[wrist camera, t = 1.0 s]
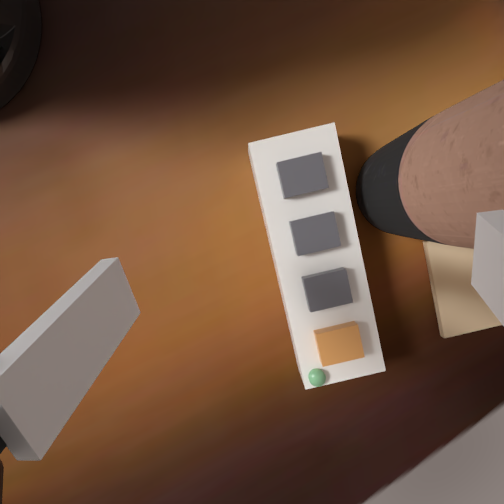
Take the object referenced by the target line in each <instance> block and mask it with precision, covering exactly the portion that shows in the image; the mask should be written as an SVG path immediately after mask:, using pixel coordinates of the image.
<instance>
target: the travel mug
mask: <svg viewBox="0 0 504 504" xmlns="http://www.w3.org/2000/svg"><path fill="white" fill-rule="evenodd" d="M356 197H357V202H358V205H359V208H360V210H361V212H362V214H363V215H364V217H365V218H366V219H367V220H368V221H369V222H370V223H371V224H372V225H373V226H375V227H376V228H378V229H380V230H382V231H384V232H388V233H391V234H395V235H400V236H405V237H410V238H415V239H420V240H425V241H430V242H435V243H440V244H444V245H450V246H456V247H463V248H471V249H474V241H475V229H476V216H477V213H479V212H487V211H495V210H504V80H502V81H500V82H498V83H496V84H494V85H492V86H490V87H488V88H486V89H484V90H483V91H481V92H479V93H477V94H475V95H473V96H471V97H469V98H467V99H465V100H463V101H461V102H459V103H457V104H455V105H453V106H452V107H450V108H448V109H446V110H444V111H442V112H440V113H438V114H436V115H435V116H433V117H431V118H429V119H428V120H426V121H424V122H423V123H421V124H419V125H418V126H416V127H415V128H413V129H411V130H410V131H408V132H406V133H405V134H403V135H401V136H400V137H398V138H396V139H395V140H393V141H391V142H390V143H388V144H386V145H385V146H383V147H382V148H380V149H379V150H377V151H376V152H375V153H374V154H372V155H371V156H370V157H369V158H368V160H367V161H366V162H365V163H364V165H363V167H362V168H361V171H360V173H359V176H358V179H357V184H356Z"/></svg>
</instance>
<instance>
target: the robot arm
mask: <svg viewBox="0 0 504 504" xmlns="http://www.w3.org/2000/svg"><path fill="white" fill-rule="evenodd" d="M40 40H41V11H40V5H39V0H0V108H1V107H3V106H4V105H5V104H7V103H8V102H9V101H10V100H11V99H12V98H13V97H14V96H15V95H16V94H17V93H18V92H19V90H20V89H21V88H22V86H23V85H24V84H25V82H26V80H27V79H28V77H29V75H30V73H31V71H32V69H33V67H34V64H35V61H36V59H37V55H38V51H39V47H40ZM471 285H472V286H473V287H474V288H475V290H476V291H477V292H478V294H479V295H480V296H481V298H482V299H483V300H484V302H485V303H486V304H487V305H488V307H489V308H490V309H491V311H492V312H493V313H494V315H495V316H496V317H497V318H498V320H499V321H500V322H501V324H502V325H503V326H504V210H495V211H487V212H479V213H477V216H476V229H475V241H474V253H473V266H472V278H471ZM139 314H140V310H139V308H138V305H137V303H136V300H135V298H134V295H133V293H132V290H131V288H130V285H129V283H128V281H127V278H126V276H125V273H124V271H123V268H122V266H121V263H120V261H119V258H118V257H117V258H109V259H101V260H100V261H99V262H98V263H97V264H96V265H95V266H94V267H93V268H92V269H91V270H90V271H88V272H87V273H86V274H85V275H84V276H83V277H82V278H81V279H80V280H79V281H78V282H77V283H76V284H75V285H73V286H72V287H71V288H70V289H69V290H68V291H67V292H66V293H65V294H64V295H63V296H62V297H61V298H60V299H58V300H57V301H56V302H55V303H54V304H53V305H52V306H51V307H50V308H49V309H48V310H47V311H46V312H45V313H43V314H42V315H41V316H40V317H39V318H38V319H37V320H36V321H35V322H34V323H33V324H32V325H31V326H30V327H28V328H27V329H26V330H25V331H24V332H23V333H22V334H21V335H20V336H19V337H18V338H17V339H15V340H14V341H13V342H12V343H11V344H10V345H9V346H8V347H7V348H6V349H5V350H4V351H3V352H2V353H1V354H0V453H1V452H2V451H3V450H4V448H5V447H6V446H7V447H8V449H9V450H10V451H11V453H12V454H13V455H14V457H15V458H16V459H17V460H41V459H42V458H43V456H44V455H45V453H46V452H47V450H48V449H49V447H50V446H51V444H52V443H53V441H54V440H55V439H56V437H57V436H58V434H59V433H60V431H61V430H62V428H63V427H64V425H65V424H66V422H67V421H68V419H69V418H70V416H71V415H72V413H73V412H74V410H75V409H76V407H77V406H78V405H79V403H80V402H81V400H82V399H83V397H84V396H85V394H86V393H87V391H88V390H89V388H90V387H91V385H92V384H93V382H94V381H95V379H96V378H97V376H98V375H99V373H100V372H101V371H102V369H103V368H104V366H105V365H106V363H107V362H108V360H109V359H110V357H111V356H112V354H113V353H114V351H115V350H116V348H117V347H118V345H119V344H120V342H121V341H122V339H123V338H124V337H125V335H126V334H127V332H128V331H129V329H130V328H131V326H132V325H133V323H134V322H135V320H136V319H137V317H138V316H139ZM3 468H4V467H3V464H2V461H1V460H0V504H2V489H3Z"/></svg>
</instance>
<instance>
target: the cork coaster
mask: <svg viewBox="0 0 504 504" xmlns="http://www.w3.org/2000/svg"><path fill="white" fill-rule="evenodd" d="M423 246H424V251H425V256H426V262H427V267H428V272H429V278H430V283H431V288H432V294H433V299H434V304H435V310H436V315H437V320H438V326H439V331H440V336H441V337H443V338H448V337H452V336H457V335H461V334H465V333H470V332H474V331H478V330H482V329H487V328H491V327H495V326H500V325H502V324H501V322H500V321H499V320H498V318H497V317H496V316H495V315H494V313H493V312H492V311H491V309H490V308H489V307H488V305H487V304H486V303H485V302H484V300H483V299H482V298H481V296H480V295H479V294H478V292H477V291H476V290H475V288H474V287H473V286H472V285H471V278H472V266H473V253H474V249H471V248H463V247H456V246H450V245H444V244H440V243H435V242H430V241H423Z"/></svg>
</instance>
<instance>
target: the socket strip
mask: <svg viewBox="0 0 504 504" xmlns="http://www.w3.org/2000/svg"><path fill="white" fill-rule="evenodd" d="M248 154H249V158H250V162H251V167H252V171H253V175H254V180H255V184H256V188H257V192H258V197H259V201H260V205H261V210H262V214H263V218H264V223H265V227H266V231H267V235H268V240H269V244H270V248H271V253H272V257H273V261H274V266H275V270H276V274H277V278H278V283H279V287H280V291H281V296H282V300H283V304H284V309H285V313H286V317H287V321H288V326H289V330H290V334H291V339H292V343H293V347H294V352H295V356H296V360H297V365H298V369H299V372H300V375H301V378H302V381H303V384H304V387H305V390H306V389H310V388H314V387H319V386H323V385H327V384H331V383H336V382H340V381H344V380H348V379H353V378H357V377H361V376H366V375H370V374H374V373H379V372H383V371H386V369H385V365H384V360H383V355H382V350H381V345H380V340H379V335H378V331H377V326H376V321H375V316H374V311H373V306H372V302H371V297H370V292H369V287H368V282H367V277H366V272H365V268H364V263H363V258H362V253H361V248H360V243H359V238H358V234H357V229H356V224H355V219H354V214H353V209H352V204H351V200H350V195H349V190H348V185H347V180H346V175H345V170H344V166H343V161H342V156H341V151H340V146H339V141H338V137H337V132H336V127H335V122H334V123H330V124H326V125H321V126H317V127H313V128H309V129H305V130H301V131H296V132H292V133H288V134H284V135H280V136H276V137H271V138H267V139H263V140H259V141H255V142H251V143H248Z"/></svg>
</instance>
